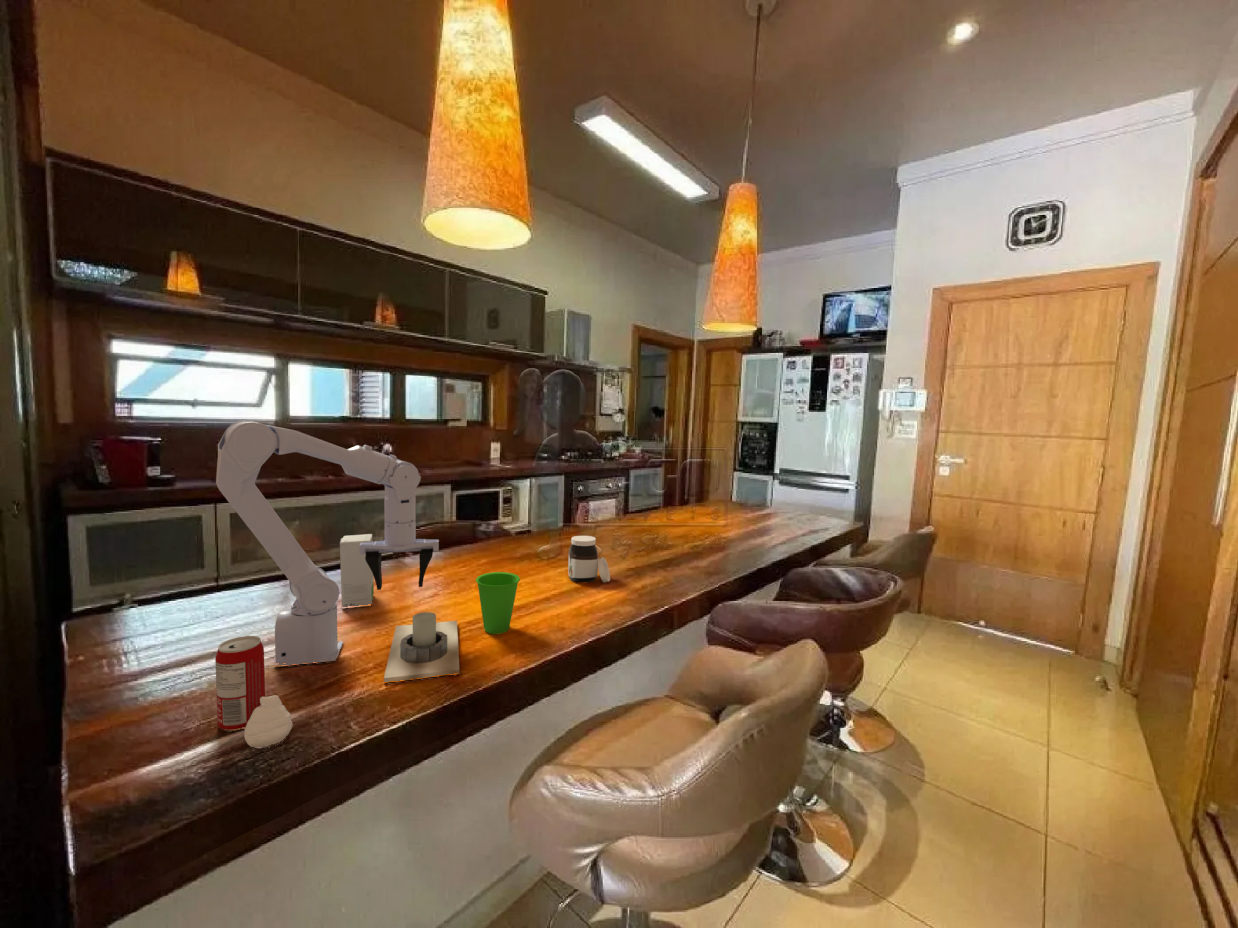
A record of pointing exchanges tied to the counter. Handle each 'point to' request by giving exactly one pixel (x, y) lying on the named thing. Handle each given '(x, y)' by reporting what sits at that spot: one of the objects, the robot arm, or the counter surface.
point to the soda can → (239, 680)
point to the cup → (497, 600)
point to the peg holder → (423, 654)
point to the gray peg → (424, 629)
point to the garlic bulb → (268, 723)
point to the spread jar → (586, 561)
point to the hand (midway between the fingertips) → (400, 586)
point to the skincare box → (355, 572)
